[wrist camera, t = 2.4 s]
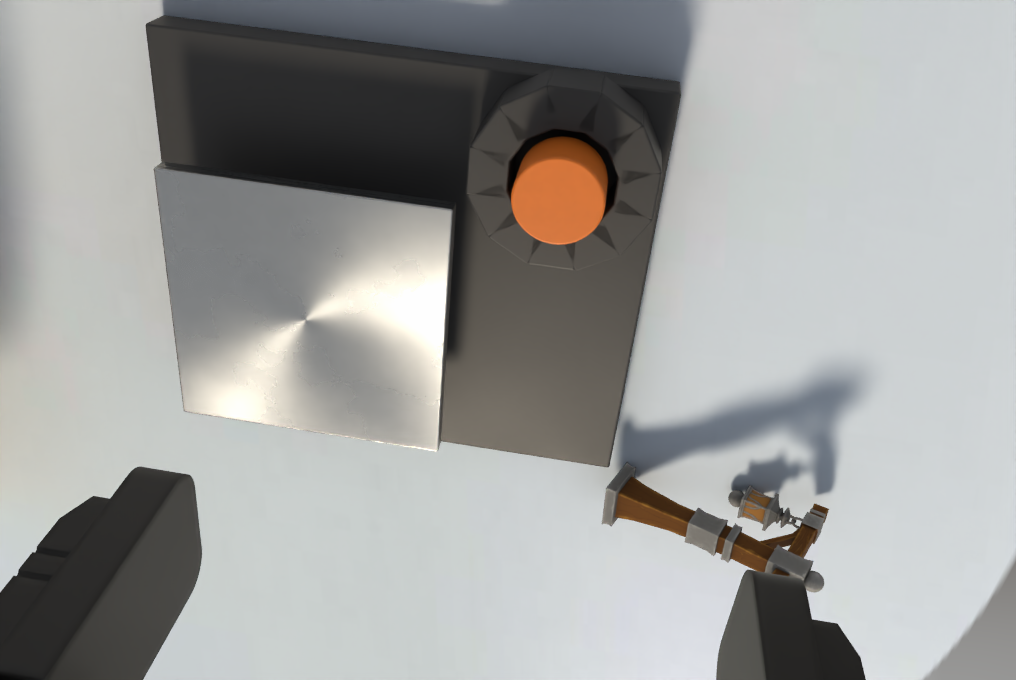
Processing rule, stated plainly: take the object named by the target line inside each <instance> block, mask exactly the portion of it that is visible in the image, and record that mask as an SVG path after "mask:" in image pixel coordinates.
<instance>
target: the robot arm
mask: <svg viewBox="0 0 1016 680" xmlns="http://www.w3.org/2000/svg"><path fill="white" fill-rule="evenodd" d="M201 558H202V547H201V538H200V529H199V520H198V511H197V502H196V493H195V485H194V481H193V479H192V477H191V476H190V475H187V474H181V473H175V472H169V471H163V470H157V469H151V468H145V467H137V468H135V469H133V470H132V471H131V472H130V473H129V475H128V476H127V477H126V478H125V480H124V481H123V482H122V484H121V485H120V486H119V488H118V489H117V490H116V492H115V493H114V494H113V496H112V497H111V498H110V499H108V498H102V497H96V496H93V497H91V498H90V499H88V500H87V501H85V502H84V503H82V504H81V505H79V506H78V507H76V508H75V509H73V510H72V511H70V512H69V513H67V514H66V515H64V516H63V517H61V518H60V519H59V520H58V521H57V522H56V524H55V525H54V526H53V527H52V529H51V530H50V531H49V532H48V534H47V535H46V536H45V537H44V539H43V540H42V541H41V542H40V544H39V545H38V546H37V550H36V552H35V553H33V552H32V554H31V555H30V556H29V557H28V559H27V560H26V561H25V562H24V564H23V565H22V566H21V567H20V569H19V572H18V575H17V576H13V577H12V579H11V580H10V581H9V582H8V584H7V585H6V586H5V587H4V589H3V590H2V591H1V592H0V680H143V679H144V677H145V675H146V673H147V672H148V670H149V668H150V666H151V664H152V663H153V661H154V659H155V657H156V656H157V654H158V652H159V650H160V648H161V647H162V645H163V643H164V641H165V640H166V638H167V636H168V634H169V633H170V631H171V629H172V627H173V625H174V624H175V622H176V620H177V618H178V617H179V615H180V613H181V611H182V609H183V608H184V606H185V604H186V602H187V601H188V599H189V597H190V595H191V593H192V591H193V589H194V587H195V584H196V581H197V578H198V575H199V571H200V566H201ZM716 680H866V679H865V675H864V671H863V667H862V662H861V658H860V656H859V655H858V653H857V652H856V650H855V649H854V647H853V646H852V644H851V643H850V642H849V640H848V639H847V637H846V636H845V634H844V633H843V631H842V630H841V628H840V627H839V625H838V624H836V623H830V622H824V621H818V620H812V618H811V613H810V608H809V602H808V597H807V592H806V588H805V584H804V582H803V580H802V579H800V578H795V577H789V576H783V575H777V574H771V573H765V572H759V571H753V570H747V571H746V572H745V573H744V575H743V577H742V580H741V583H740V586H739V589H738V592H737V595H736V598H735V601H734V604H733V607H732V610H731V613H730V616H729V619H728V622H727V625H726V628H725V631H724V634H723V637H722V640H721V644H720V649H719V654H718V662H717V676H716Z"/></svg>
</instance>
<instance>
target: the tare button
mask: <svg viewBox="0 0 1016 680" xmlns="http://www.w3.org/2000/svg"><path fill="white" fill-rule="evenodd" d="M607 186H608V174H607V169H606V166H605V163H604V161H603V159H602V158H601V156H600V155H599V154H598V152H597V151H596V150H595V149H594V148H592V147H591V146H590V145H588V144H587V143H585V142H583V141H581V140H579V139H576V138H572V137H564V136H560V137H552V138H548V139H545V140H543V141H541V142H539V143H538V144H536V145H534V146H533V147H532V148H531V149H530V150H529V151H528V152H527V153H526V155H525V156H524V158H523V160H522V162H521V164H520V167H519V170H518V173H517V176H516V179H515V182H514V185H513V188H512V193H511V206H512V210H513V213H514V216H515V218H516V220H517V222H518V223H519V224H520V226H521V227H522V228H523V229H524V230H525V231H526V232H527V233H528V234H529V235H531V236H532V237H534V238H535V239H538V240H540V241H542V242H545V243H549V244H557V245H561V244H570V243H573V242H577V241H579V240H581V239H583V238H585V237H586V236H588V235H589V234H590V233H592V232H593V231H594V230H595V228H596V227H597V226H598V224H599V223H600V221H601V219H602V217H603V214H604V210H605V204H606V195H607Z"/></svg>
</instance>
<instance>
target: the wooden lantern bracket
mask: <svg viewBox="0 0 1016 680" xmlns="http://www.w3.org/2000/svg"><path fill="white" fill-rule="evenodd" d="M635 468H636V467H632V466H630V465H629V464H628V462H627V463H626V464H625V466H624V467H623V468H622V469H621V470H620V472H619V473H618V474H617V475H616V477H615V478H614V479H613V480H612V481H611V483H610V484H609V485H608V486H607V488H606V494H605V502H604V510H603V519H602V524H609V525H610V526H612V525H613V524H614V522H615V521H616V520H617V518H622V519H628V520H634V521H637V522H641V523H644V524H648V525H651V526H655V527H658V528H662V529H665V530H669V531H671V532H674V533H676V534H679V535H681V536H684V537H686V538H685V542H686V543H690V544H693V545H696V546H698V547H700V548H702V549H704V550H706V551H708V552H709V553H710V554H711V555H713V556H714V555H715V553H716V552H717V553H720V554H722V557H721V560H725V561H726V562H729V561H730V559H733V560H735V561H737V562H739V563H741V564H743V565H746V566H748V567H750V568H752V569H754V570H756V571H759V572H765V573H771V574H777V575H783V576H789V577H795V578H800V579H802V580H803V582H804V584H805V588H806V589H807V590H808V591H810V592H818V591H820V590H821V589H822V588H823V586H824V579H823V577H822V576H821V575H820V574H819V573H818V572H815V571H810V570H811V567H812V564H813V561H810V560H806V559H804V557H805V555H806V553H807V551H808V549H809V548H810V546H811V544H812V543H813V544H815V542H816V540H817V538H818V537H819V535H820V533H821V529H822V526H823V523H824V522H825V520H826V516H827V513H828V510H829V509H828V508H825V507H822V506H820V505H817V504H814V506H813V508H812V509H811V510H810V513H808V512H807V514H806V515H805V517H804V519H801V518H798V517H794V516H792V515H790V510H789V508H787V509H786V511H785V513H783V508H781V509H780V507H779V494H777V493H776V495H775V497H774V498H771V497H768V496H766V495H764V494H762V493H760V492H758V491H756V490H754V489H753V488H752V486H749V487H748V489H747V491H746V492H745V494H743V493H742V492H741V491H738V490H735V491H732V492H731V493H730V494H729V497H728V498H729V502H730V504H731V505H732V506H734V507H740V508H739V512H738V517H737V518H740V517H745V518H748V519H751V520H754V521H757V522H760V523H762V524H763V529H762V530H764V531H765V530H766V529H767V527H768V526H770V525H771V524H772V523H773V522H775V521H776V523H778V522H779V521H780V520H781V528H782V527H783V526H784V525H786V524H792V525H793V526H794V527H796V528H798V529H797V530H796V531H795V532H794V533H793V534H789V535H785V536H781V537H776V538H772V539H768V540H764V541H760V542H759V541H757V540H756V539H754V538H752V537H750V536H748V535H746V534H744V533H742V532H741V531H742V527H739V526H738V525H736V523H735V525H734V527H733V528H732V527H730V526H727V522H728V520H724V519H719V518H717V517H715V516H713V515H710V514H708V513H706V512H704V511H703V510H701V509H700V508H698V509H697V510H696V512H695V511H693V510H691V509H689V508H686V507H684V506H682V505H679V504H677V503H676V502H674V501H672V500H670V499H668V498H667V497H665V496H663V495H661V494H659V493H658V492H656V491H654V490H652V489H650V488H649V487H647V486H645V485H644V484H642V483H641V482H639V481H638V480H637V479H635V478H634V475H635ZM790 517H791V518H792V520H791V522H789V519H790ZM796 519H797V520H800V521H802V522H801V525H800V527H799V526H797V525H795V524H794V523H796ZM789 545H791V546H790V548H789V549H788V551H787V550H785V549H783V548H782V547H785V546H789Z"/></svg>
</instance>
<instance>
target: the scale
mask: <svg viewBox="0 0 1016 680" xmlns="http://www.w3.org/2000/svg"><path fill="white" fill-rule="evenodd" d="M146 33H147V41H148V50H149V58H150V67H151V75H152V83H153V92H154V100H155V109H156V117H157V126H158V134H159V142H160V151H161V159H162V162H170V163H177V164H184V165H192V166H199V167H206V168H213V169H220V170H228V171H235V172H242V173H249V174H256V175H263V176H271V177H278V178H285V179H292V180H299V181H307V182H314V183H321V184H328V185H335V186H342V187H350V188H357V189H364V190H371V191H378V192H386V193H393V194H400V195H407V196H414V197H421V198H429V199H436V200H443V201H450V202H456V216H455V231H454V247H453V262H452V278H451V293H450V309H449V324H448V340H447V356H446V371H445V387H444V402H443V418H442V433H441V441H443V442H450V443H456V444H463V445H469V446H475V447H482V448H488V449H494V450H501V451H507V452H513V453H520V454H526V455H533V456H539V457H545V458H552V459H558V460H564V461H571V462H577V463H584V464H590V465H596V466H603V467H609V465H610V460H611V455H612V450H613V445H614V439H615V434H616V429H617V424H618V419H619V414H620V408H621V403H622V398H623V393H624V388H625V383H626V377H627V372H628V367H629V362H630V357H631V352H632V346H633V341H634V336H635V331H636V326H637V320H638V315H639V310H640V305H641V300H642V295H643V289H644V284H645V279H646V274H647V269H648V264H649V258H650V253H651V248H652V243H653V238H654V233H655V227H656V222H657V217H658V212H659V207H660V202H661V196H662V191H663V186H664V181H665V176H666V170H667V165H668V160H669V155H670V150H671V145H672V139H673V134H674V129H675V124H676V119H677V114H678V108H679V103H680V98H681V88H680V82H678V81H670V80H662V79H654V78H647V77H639V76H631V75H623V74H615V73H608V72H600V71H592V70H584V69H577V68H569V67H561V66H553V65H545V64H538V63H530V62H522V61H514V60H506V59H499V58H491V57H483V56H475V55H467V54H460V53H452V52H444V51H436V50H428V49H421V48H413V47H405V46H397V45H389V44H382V43H374V42H366V41H358V40H350V39H343V38H335V37H327V36H319V35H311V34H304V33H296V32H288V31H280V30H272V29H265V28H257V27H249V26H241V25H233V24H226V23H218V22H210V21H202V20H194V19H187V18H179V17H171V16H161V17H159V18H157V19H155V20H153V21H151V22H149V23H147V24H146ZM560 136H564V137H572V138H576V139H579V140H581V141H583V142H585V143H587V144H588V145H590V146H591V147H592V148H594V149H595V150H596V151H597V152H598V154H599V155H600V156H601V158H602V159H603V161H604V163H605V166H606V169H607V174H608V186H607V195H606V204H605V210H604V214H603V217H602V219H601V221H600V223H599V224H598V226H597V227H596V228H595V230H594V231H593V232H592V233H590V234H589V235H588V236H586V237H585V238H583V239H581V240H579V241H577V242H573V243H570V244H561V245H557V244H549V243H545V242H542V241H540V240H538V239H535V238H534V237H532V236H531V235H529V234H528V233H527V232H526V231H525V230H524V229H523V228H522V227H521V226H520V224H519V223H518V222H517V220H516V218H515V216H514V213H513V210H512V206H511V193H512V188H513V185H514V182H515V179H516V176H517V173H518V170H519V167H520V164H521V162H522V160H523V158H524V156H525V155H526V153H527V152H528V151H529V150H530V149H531V148H532V147H533V146H534V145H536V144H538V143H539V142H541V141H543V140H545V139H548V138H552V137H560Z"/></svg>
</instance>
